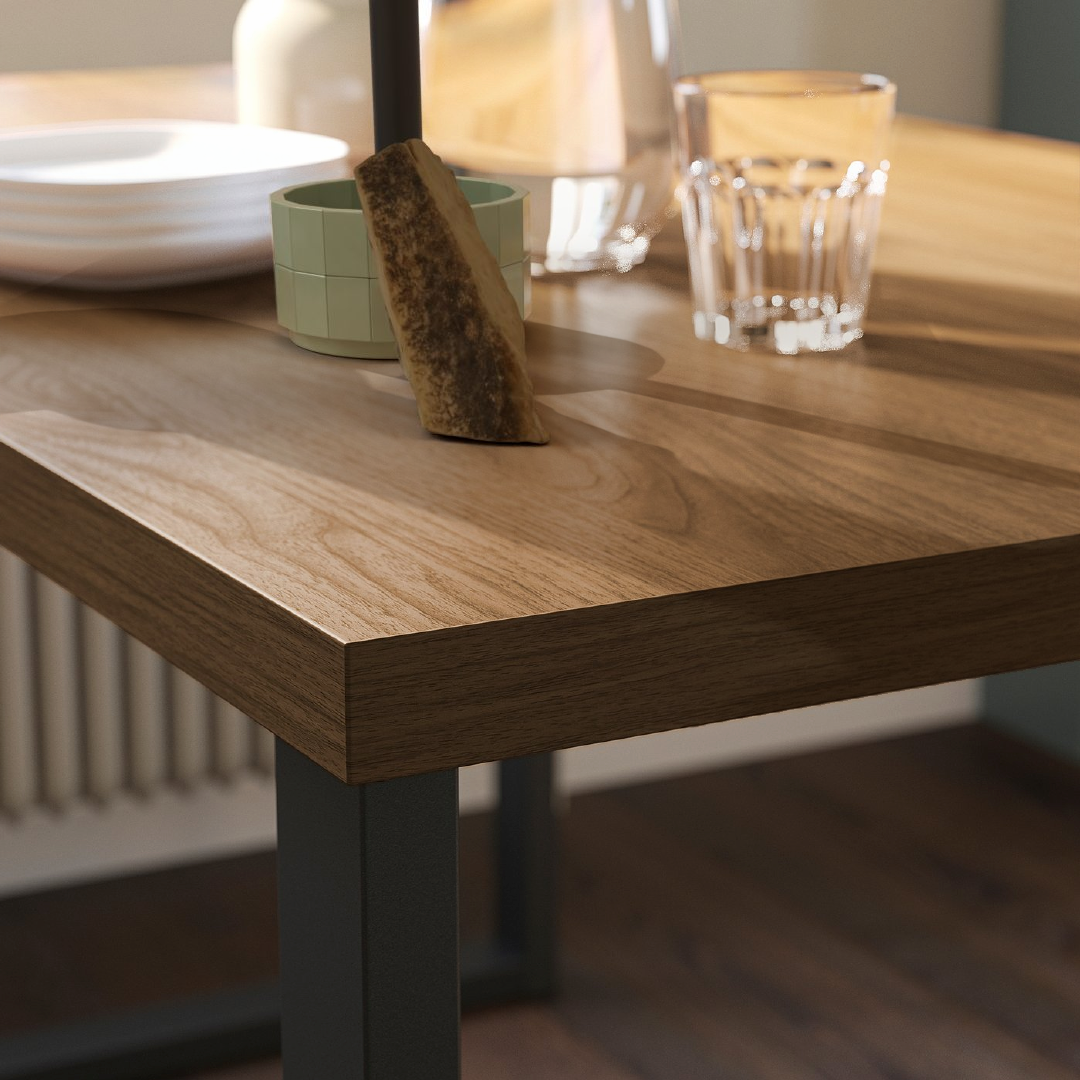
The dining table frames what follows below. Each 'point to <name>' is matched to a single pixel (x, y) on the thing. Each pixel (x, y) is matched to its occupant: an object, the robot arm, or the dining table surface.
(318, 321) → the bowl
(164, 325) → the dining table surface
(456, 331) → the rock
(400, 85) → the dark weighted post stand
